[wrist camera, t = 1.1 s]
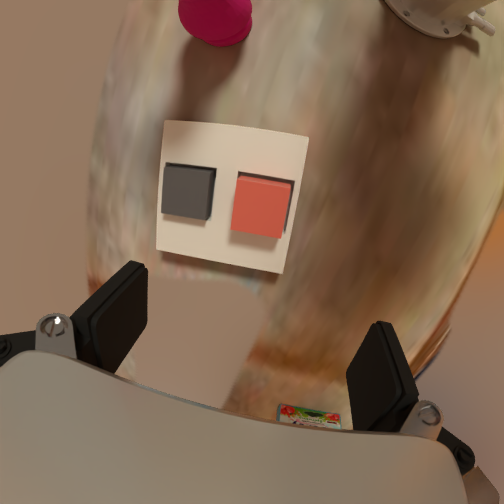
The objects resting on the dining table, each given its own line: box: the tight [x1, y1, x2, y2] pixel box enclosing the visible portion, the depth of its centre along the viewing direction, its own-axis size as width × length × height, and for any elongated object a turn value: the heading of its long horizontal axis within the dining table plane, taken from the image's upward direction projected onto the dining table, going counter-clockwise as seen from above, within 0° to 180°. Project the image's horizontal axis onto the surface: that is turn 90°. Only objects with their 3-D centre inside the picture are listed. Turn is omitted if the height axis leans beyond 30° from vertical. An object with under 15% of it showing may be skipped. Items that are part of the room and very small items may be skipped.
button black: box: [161, 165, 216, 220], centre depth 30 cm, size 5×5×2 cm
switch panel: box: [156, 120, 309, 274], centre depth 31 cm, size 15×15×3 cm
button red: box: [230, 176, 291, 239], centre depth 28 cm, size 5×5×2 cm
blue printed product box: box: [276, 404, 341, 429], centre depth 43 cm, size 12×2×6 cm, turn 74°
